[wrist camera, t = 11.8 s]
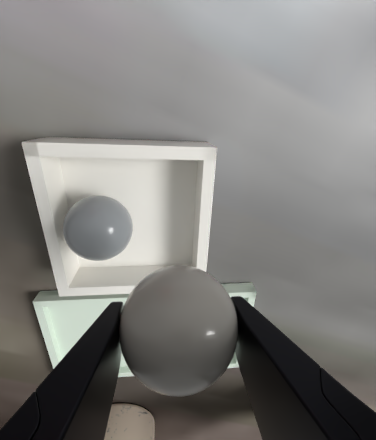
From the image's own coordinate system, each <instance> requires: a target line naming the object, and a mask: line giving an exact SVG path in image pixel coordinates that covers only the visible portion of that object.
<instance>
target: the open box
mask: <svg viewBox="0 0 376 440" xmlns="http://www.w3.org/2000/svg"><path fill="white" fill-rule="evenodd" d="M21 143H22V147H23V151H24V155H25V159H26V163H27V167H28V171H29V175H30V179H31V183H32V188H33V192H34V196H35V200H36V204H37V208H38V212H39V216H40V220H41V224H42V228H43V232H44V236H45V240H46V244H47V249H48V253H49V257H50V261H51V265H52V269H53V273H54V277H55V281H56V285H57V289H58V293H59V297H62V296H86V295H109V294H130V293H131V292H132V290H133V289H134V288H135V286H136V285H137V284H138V283H139V282H140V281H141V280H142V279H143V278H145V277H146V276H147V275H149V274H150V273H152V272H154V271H156V270H158V269H161V268H164V267H168V266H174V265H185V266H191V267H195V268H198V269H201V270H203V271H205V272H206V268H207V257H208V245H209V234H210V223H211V212H212V201H213V189H214V178H215V167H216V156H217V147H215V146H214V145H212V144H210V143H208V142H197V141H166V140H134V139H103V138H72V137H44V138H39V139H34V140H29V141H23V142H21ZM96 195H100V196H107V197H111V198H113V199H115V200H117V201H118V202H120V203H121V204H122V205H123V206H124V207H125V208H126V209H127V210H128V212H129V214H130V216H131V219H132V223H133V232H132V237H131V240H130V242H129V244H128V245H127V247H126V248H125V249H124V250H123V251H122V252H121V253H120V254H118V255H117V256H115V257H113V258H111V259H108V260H103V261H92V260H87V259H84V258H82V257H80V256H78V255H77V254H75V253H74V252H73V251H72V250H71V249H70V248H69V247H68V245H67V243H66V241H65V239H64V236H63V222H64V218H65V216H66V214H67V212H68V210H69V209H70V208H71V207H72V206H73V205H74V204H75V203H76V202H78V201H79V200H81V199H83V198H86V197H89V196H96Z"/></svg>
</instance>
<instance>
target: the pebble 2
mask: <svg viewBox="0 0 376 440" xmlns="http://www.w3.org/2000/svg"><path fill="white" fill-rule="evenodd" d="M119 341H120V346H121V351H122V354H123V357H124V359H125V362H126V364H127V366H128V367H129V369H130V371H131V372H132V374H133V375H134V376H135V377H136V378H137V379H138V380H139V381H140V382H141V383H142V384H143V385H144V386H146V387H147V388H149V389H150V390H152V391H154V392H156V393H159V394H162V395H166V396H171V397H183V396H189V395H193V394H196V393H199V392H201V391H203V390H205V389H207V388H208V387H210V386H211V385H212V384H214V383H215V382H216V381H217V380H218V379H219V378H220V377H221V376H222V375H223V373H224V372H225V371H226V369H227V368H228V366H229V364H230V363H231V360H232V358H233V356H234V353H235V350H236V346H237V341H238V320H237V314H236V311H235V307H234V304H233V302H232V300H231V298H230V296H229V294H228V292H227V291H226V290H225V288H224V287H223V286H222V284H221V283H220V282H219V281H218V280H216V279H215V278H214V277H213V276H212V275H210V274H208V273H207V272H205V271H203V270H201V269H198V268H195V267H191V266H185V265H174V266H168V267H164V268H161V269H158V270H156V271H154V272H152V273H150V274H149V275H147V276H146V277H145V278H143V279H142V280H141V281H140V282H139V283H138V284H137V285H136V286H135V288H134V289H133V290H132V292H131V293H130V294H129V296H128V298H127V300H126V302H125V304H124V307H123V310H122V313H121V317H120V324H119Z"/></svg>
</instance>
